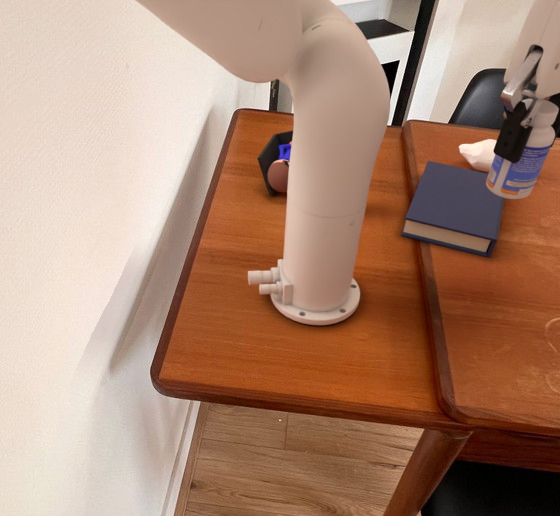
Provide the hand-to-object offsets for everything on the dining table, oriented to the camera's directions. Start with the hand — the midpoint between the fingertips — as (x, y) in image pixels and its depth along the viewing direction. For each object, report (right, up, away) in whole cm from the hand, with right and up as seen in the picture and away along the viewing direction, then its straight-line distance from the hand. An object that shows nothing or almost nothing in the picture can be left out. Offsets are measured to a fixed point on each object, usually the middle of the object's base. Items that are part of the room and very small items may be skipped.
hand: (522, 149), depth 60 cm
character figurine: (-27, +9, +34) cm, 44 cm away
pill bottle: (0, -3, +4) cm, 5 cm away
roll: (+11, +13, +40) cm, 44 cm away
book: (+2, +1, +30) cm, 30 cm away
